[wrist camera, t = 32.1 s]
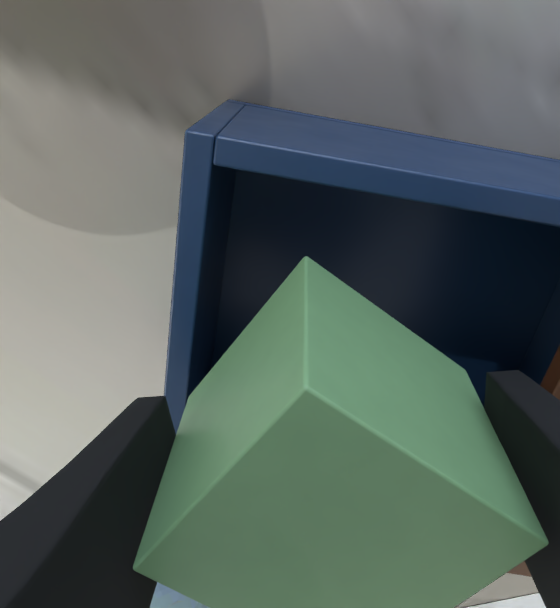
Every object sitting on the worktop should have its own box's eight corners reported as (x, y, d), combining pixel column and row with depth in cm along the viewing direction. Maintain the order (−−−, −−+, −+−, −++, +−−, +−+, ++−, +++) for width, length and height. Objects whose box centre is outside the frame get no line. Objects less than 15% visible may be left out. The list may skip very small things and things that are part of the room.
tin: (616, 170, 16) (773, 236, 11) (500, 423, 20) (568, 560, 15) (227, 98, 16) (184, 129, 10) (196, 373, 20) (155, 494, 15)
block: (466, 369, 12) (551, 544, 8) (337, 485, 14) (351, 679, 9) (305, 253, 11) (305, 385, 7) (188, 396, 12) (130, 570, 8)
